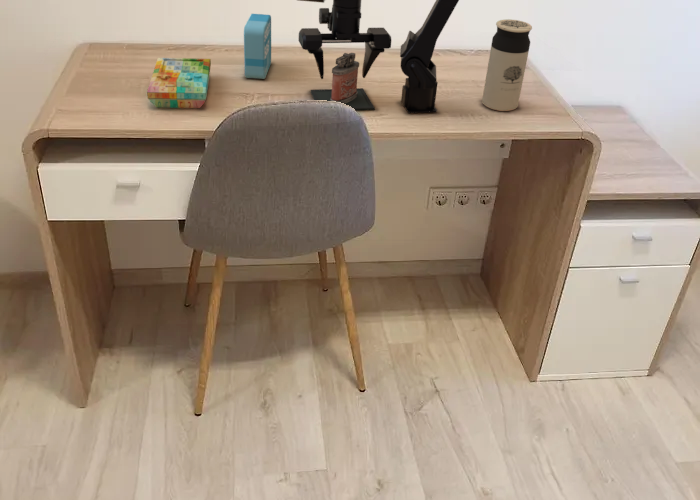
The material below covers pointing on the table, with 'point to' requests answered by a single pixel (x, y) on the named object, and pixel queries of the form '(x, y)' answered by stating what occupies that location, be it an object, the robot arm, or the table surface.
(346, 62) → the lighter
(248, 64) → the data package
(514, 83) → the travel mug
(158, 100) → the puzzle game
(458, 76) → the table surface
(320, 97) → the desk mat
